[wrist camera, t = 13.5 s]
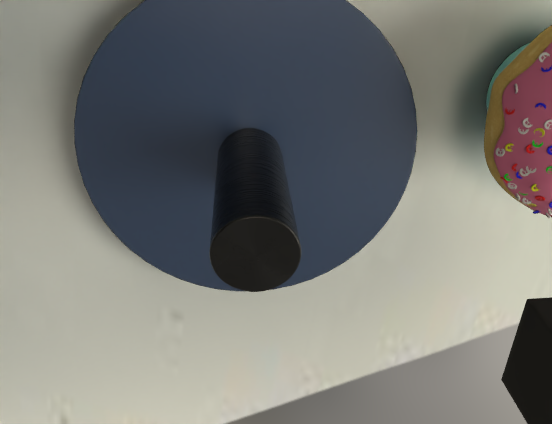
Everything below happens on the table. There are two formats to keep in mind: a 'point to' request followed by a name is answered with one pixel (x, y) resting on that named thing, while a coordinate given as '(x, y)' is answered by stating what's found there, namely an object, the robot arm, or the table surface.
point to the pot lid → (245, 137)
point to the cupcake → (522, 124)
